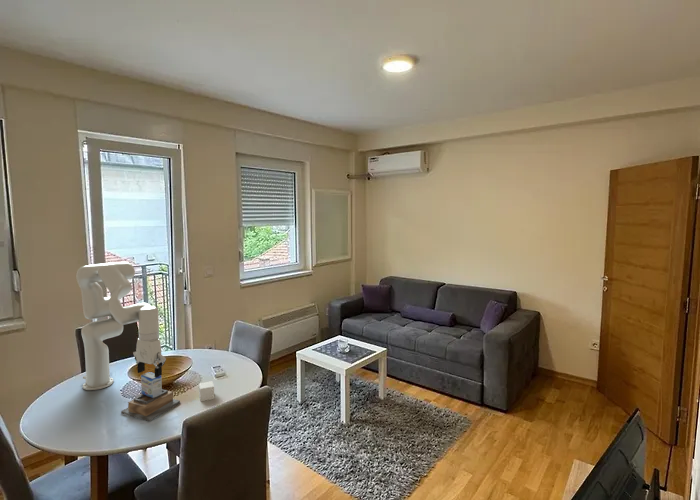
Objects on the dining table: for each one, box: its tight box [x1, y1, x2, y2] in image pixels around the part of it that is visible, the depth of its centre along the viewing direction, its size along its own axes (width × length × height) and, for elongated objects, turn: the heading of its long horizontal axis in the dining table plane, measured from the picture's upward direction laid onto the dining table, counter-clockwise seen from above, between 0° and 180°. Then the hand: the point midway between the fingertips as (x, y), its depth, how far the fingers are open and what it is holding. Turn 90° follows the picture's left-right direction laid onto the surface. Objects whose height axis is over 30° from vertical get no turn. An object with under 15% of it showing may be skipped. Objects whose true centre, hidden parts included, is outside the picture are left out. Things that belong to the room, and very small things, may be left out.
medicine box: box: [140, 371, 163, 398], centre depth 162 cm, size 8×4×9 cm, turn 62°
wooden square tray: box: [120, 388, 181, 422], centre depth 163 cm, size 16×16×6 cm
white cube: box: [198, 380, 215, 402], centre depth 174 cm, size 6×6×6 cm
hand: (149, 373), depth 162 cm, fingers open, 9 cm apart
